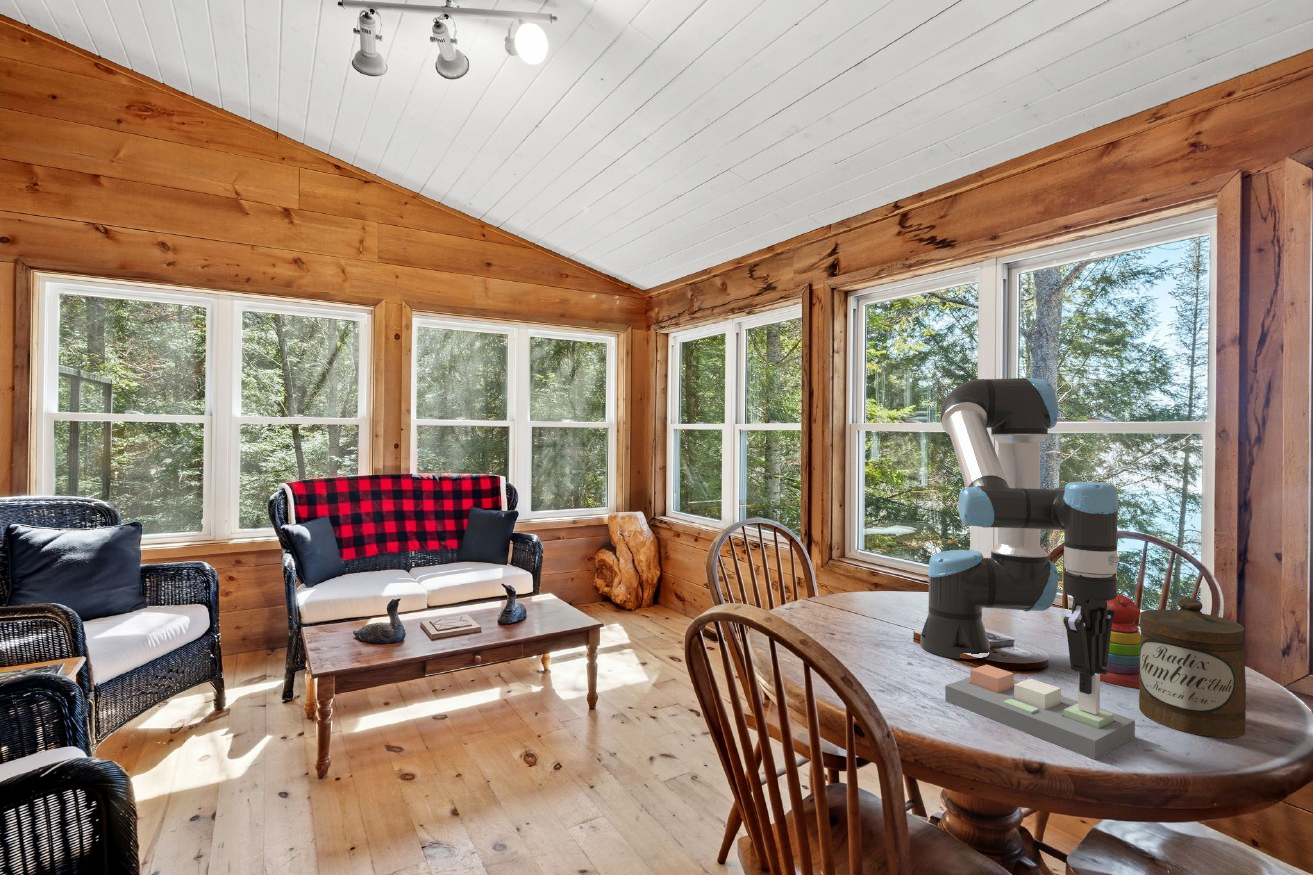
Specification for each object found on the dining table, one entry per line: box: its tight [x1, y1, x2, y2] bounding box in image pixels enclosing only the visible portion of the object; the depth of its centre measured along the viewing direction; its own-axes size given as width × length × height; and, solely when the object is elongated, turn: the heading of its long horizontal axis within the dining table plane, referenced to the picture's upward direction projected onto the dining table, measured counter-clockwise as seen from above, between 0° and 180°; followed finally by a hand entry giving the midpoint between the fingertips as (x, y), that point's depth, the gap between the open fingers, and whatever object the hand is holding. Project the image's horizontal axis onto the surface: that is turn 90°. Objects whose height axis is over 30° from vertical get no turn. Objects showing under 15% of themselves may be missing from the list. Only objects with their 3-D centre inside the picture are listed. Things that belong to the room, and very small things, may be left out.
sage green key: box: [1064, 703, 1114, 729], centre depth 109 cm, size 5×5×3 cm
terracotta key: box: [970, 664, 1015, 693], centre depth 124 cm, size 5×5×3 cm
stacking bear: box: [1099, 593, 1141, 689], centre depth 135 cm, size 11×10×18 cm
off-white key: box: [1014, 678, 1062, 710], centre depth 117 cm, size 5×5×3 cm
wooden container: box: [1138, 597, 1247, 739], centre depth 116 cm, size 15×15×22 cm
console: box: [944, 676, 1136, 760], centre depth 116 cm, size 26×14×3 cm, turn 32°
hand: (1088, 710), depth 109 cm, fingers closed
